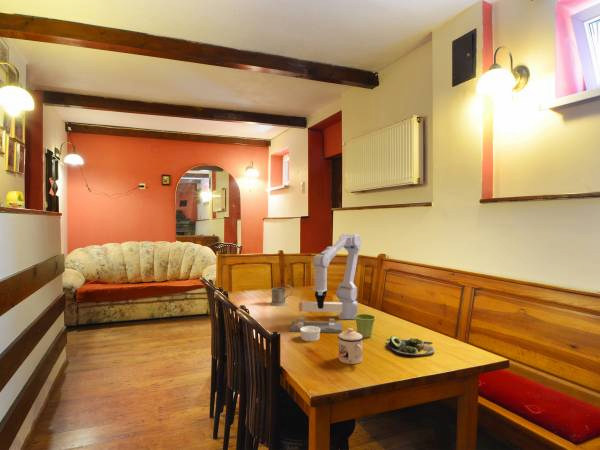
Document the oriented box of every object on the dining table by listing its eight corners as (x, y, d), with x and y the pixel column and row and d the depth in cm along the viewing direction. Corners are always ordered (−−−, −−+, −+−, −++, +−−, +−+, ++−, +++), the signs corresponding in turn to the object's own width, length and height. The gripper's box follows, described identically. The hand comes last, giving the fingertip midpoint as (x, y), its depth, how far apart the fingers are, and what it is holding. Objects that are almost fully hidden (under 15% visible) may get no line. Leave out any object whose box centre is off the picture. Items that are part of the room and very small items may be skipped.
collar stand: (341, 325, 180) (341, 318, 180) (342, 333, 168) (342, 325, 168) (292, 323, 182) (292, 316, 182) (289, 331, 170) (289, 323, 170)
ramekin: (316, 343, 155) (316, 333, 154) (297, 340, 158) (297, 330, 158) (322, 336, 163) (322, 327, 163) (304, 334, 166) (304, 325, 166)
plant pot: (376, 333, 167) (376, 314, 167) (373, 340, 158) (374, 320, 158) (356, 331, 170) (356, 313, 170) (352, 338, 161) (352, 318, 161)
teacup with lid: (333, 357, 138) (333, 326, 138) (354, 354, 142) (354, 324, 142) (350, 369, 127) (350, 336, 127) (372, 365, 131) (372, 332, 131)
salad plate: (421, 340, 159) (421, 329, 159) (446, 355, 142) (447, 343, 142) (380, 343, 155) (380, 332, 155) (401, 359, 137) (401, 347, 137)
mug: (267, 305, 221) (267, 285, 221) (274, 301, 230) (274, 282, 230) (289, 307, 216) (289, 287, 215) (295, 304, 225) (296, 284, 224)
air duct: (342, 310, 180) (342, 302, 180) (342, 312, 176) (342, 304, 176) (299, 309, 183) (299, 300, 182) (298, 311, 178) (298, 302, 178)
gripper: (313, 276, 187) (313, 303, 187) (311, 281, 172) (311, 310, 173) (327, 277, 186) (327, 303, 186) (326, 282, 172) (326, 311, 172)
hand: (320, 307), depth 179 cm, fingers closed on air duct, 4 cm apart
